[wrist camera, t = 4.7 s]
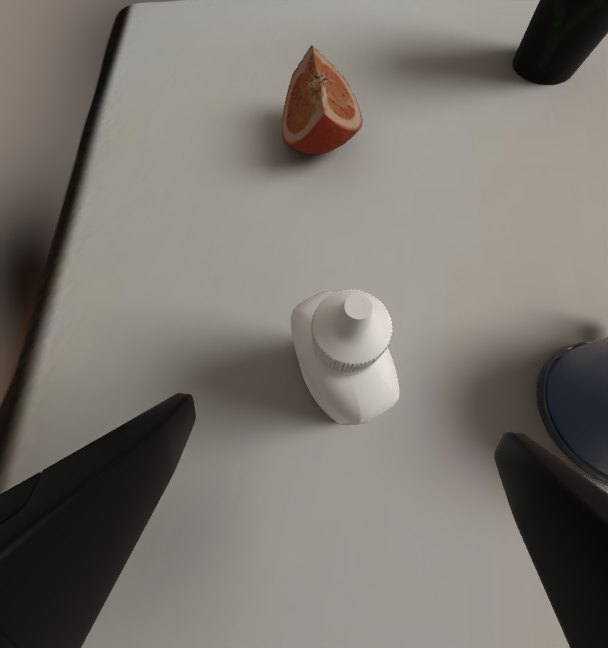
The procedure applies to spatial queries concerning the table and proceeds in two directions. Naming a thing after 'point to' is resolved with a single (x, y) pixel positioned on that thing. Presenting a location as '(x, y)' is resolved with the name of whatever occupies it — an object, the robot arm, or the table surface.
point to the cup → (560, 39)
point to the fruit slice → (319, 107)
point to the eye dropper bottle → (346, 354)
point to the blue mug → (578, 404)
